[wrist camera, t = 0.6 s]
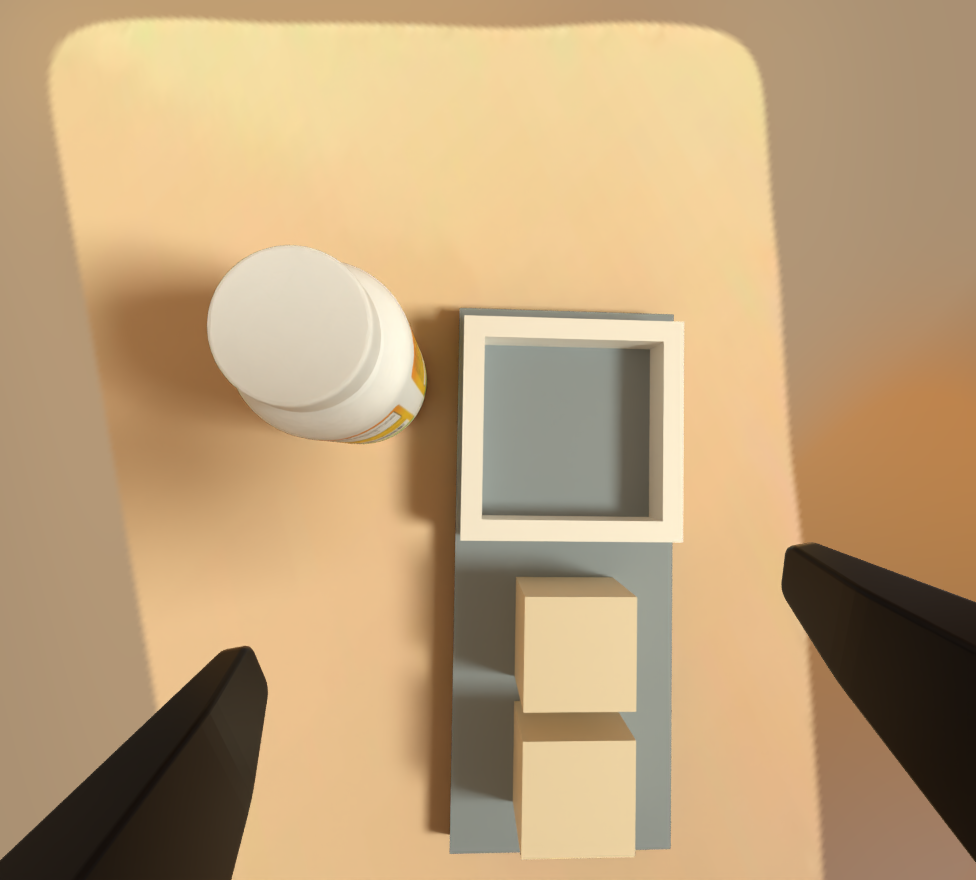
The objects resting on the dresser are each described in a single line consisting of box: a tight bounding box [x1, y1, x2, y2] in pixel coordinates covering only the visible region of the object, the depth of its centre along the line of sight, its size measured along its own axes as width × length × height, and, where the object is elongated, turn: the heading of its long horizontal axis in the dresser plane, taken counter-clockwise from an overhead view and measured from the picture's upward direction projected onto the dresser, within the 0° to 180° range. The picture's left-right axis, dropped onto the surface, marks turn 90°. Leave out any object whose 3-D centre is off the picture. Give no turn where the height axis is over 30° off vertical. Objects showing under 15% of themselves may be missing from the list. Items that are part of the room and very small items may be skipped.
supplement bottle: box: [207, 245, 427, 444], centre depth 17 cm, size 5×5×10 cm
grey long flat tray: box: [450, 308, 684, 860], centre depth 20 cm, size 22×9×4 cm, turn 179°
